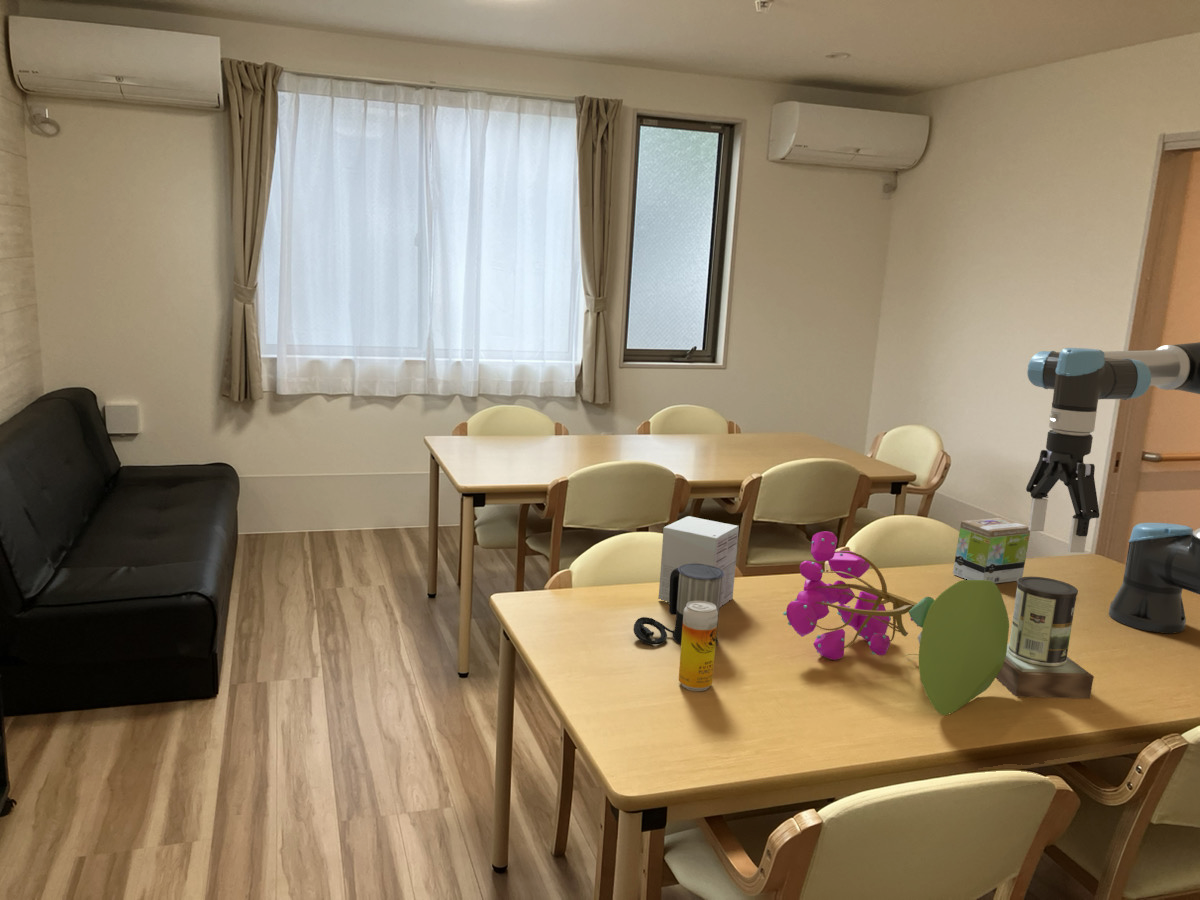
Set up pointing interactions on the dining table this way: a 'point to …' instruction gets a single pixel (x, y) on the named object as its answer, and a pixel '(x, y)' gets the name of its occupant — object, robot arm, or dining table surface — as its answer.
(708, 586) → the milk frother
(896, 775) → the dining table surface
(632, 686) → the dining table surface
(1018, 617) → the coffee can
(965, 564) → the tea box
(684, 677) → the beer can
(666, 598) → the supplement box
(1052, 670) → the tray
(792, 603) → the magenta flower sprig
